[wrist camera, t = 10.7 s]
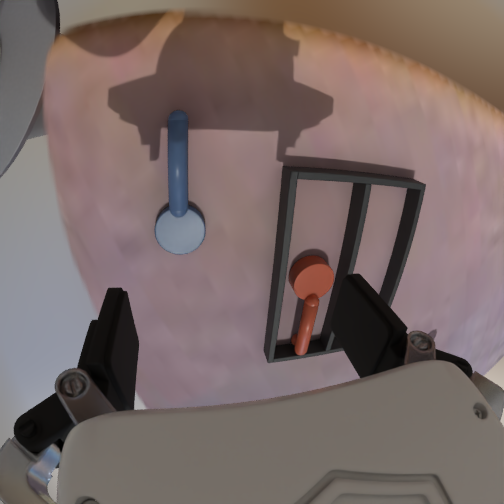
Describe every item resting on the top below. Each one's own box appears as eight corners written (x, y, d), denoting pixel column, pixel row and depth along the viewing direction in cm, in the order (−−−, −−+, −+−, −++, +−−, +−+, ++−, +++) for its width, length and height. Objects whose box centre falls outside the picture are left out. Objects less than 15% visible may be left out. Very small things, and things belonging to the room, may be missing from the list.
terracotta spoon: (329, 253, 26) (342, 267, 24) (310, 338, 32) (318, 354, 29) (290, 255, 26) (300, 270, 23) (277, 343, 31) (284, 360, 28)
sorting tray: (261, 345, 31) (267, 363, 29) (279, 164, 22) (290, 171, 20) (365, 328, 34) (375, 343, 32) (407, 176, 25) (426, 184, 23)
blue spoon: (159, 246, 23) (155, 261, 21) (153, 112, 18) (148, 111, 16) (204, 244, 24) (206, 259, 22) (206, 110, 19) (207, 109, 17)
